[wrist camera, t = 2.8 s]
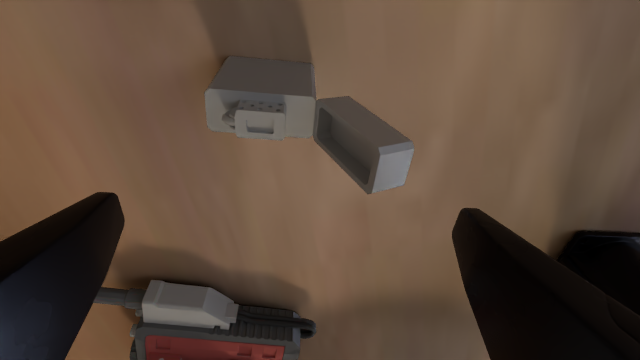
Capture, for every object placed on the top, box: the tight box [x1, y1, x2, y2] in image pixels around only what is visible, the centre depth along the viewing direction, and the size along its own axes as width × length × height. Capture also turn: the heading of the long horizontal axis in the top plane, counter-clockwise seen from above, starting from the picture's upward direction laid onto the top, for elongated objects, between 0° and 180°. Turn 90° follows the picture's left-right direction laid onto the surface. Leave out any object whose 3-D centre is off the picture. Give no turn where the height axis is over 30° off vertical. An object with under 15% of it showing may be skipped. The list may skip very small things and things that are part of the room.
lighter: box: [204, 56, 414, 194], centre depth 14 cm, size 7×2×8 cm, turn 84°
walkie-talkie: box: [93, 280, 316, 360], centre depth 25 cm, size 9×4×20 cm
